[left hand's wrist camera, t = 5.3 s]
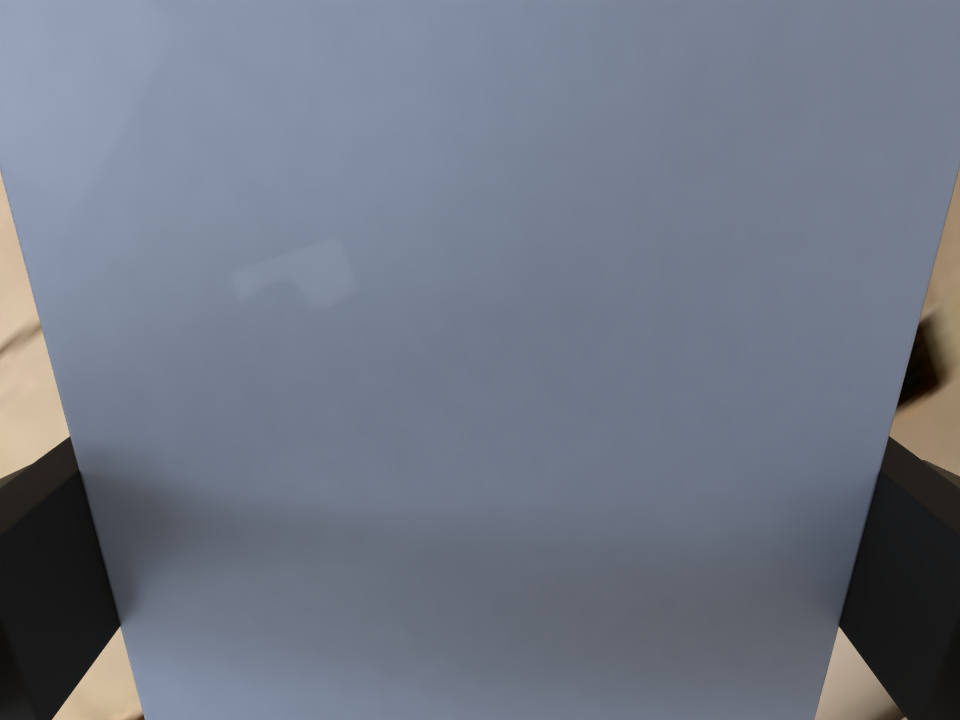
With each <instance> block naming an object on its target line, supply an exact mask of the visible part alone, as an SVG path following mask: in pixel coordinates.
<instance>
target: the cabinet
mask: <svg viewBox="0 0 960 720" xmlns="http://www.w3.org/2000/svg"><path fill="white" fill-rule="evenodd" d="M959 168H960V0H0V171H1V175H2V179H3V182H4V186H5V190H6V194H7V198H8V201H9V205H10V209H11V213H12V217H13V220H14V224H15V228H16V232H17V236H18V239H19V243H20V247H21V251H22V255H23V258H24V262H25V266H26V270H27V274H28V277H29V281H30V285H31V289H32V293H33V296H34V300H35V304H36V308H37V312H38V315H39V319H40V323H41V327H42V330H43V334H44V338H45V342H46V346H47V349H48V353H49V357H50V361H51V365H52V368H53V372H54V376H55V380H56V384H57V387H58V391H59V395H60V399H61V403H62V406H63V410H64V414H65V418H66V422H67V425H68V429H69V433H70V437H71V441H72V444H73V448H74V452H75V456H76V460H77V463H78V467H79V471H80V475H81V478H82V482H83V486H84V490H85V494H86V497H87V501H88V505H89V509H90V513H91V516H92V520H93V524H94V528H95V532H96V535H97V539H98V543H99V547H100V551H101V554H102V558H103V562H104V566H105V570H106V573H107V577H108V581H109V585H110V589H111V592H112V596H113V600H114V604H115V608H116V611H117V615H118V619H119V623H120V626H121V630H122V634H123V638H124V642H125V645H126V649H127V653H128V657H129V661H130V664H131V668H132V672H133V676H134V680H135V683H136V687H137V691H138V695H139V699H140V702H141V706H142V710H143V714H144V718H145V720H814V718H815V715H816V711H817V707H818V703H819V699H820V696H821V692H822V688H823V684H824V680H825V677H826V673H827V669H828V665H829V661H830V658H831V654H832V650H833V646H834V642H835V639H836V635H837V631H838V627H839V623H840V620H841V616H842V612H843V608H844V604H845V601H846V597H847V593H848V589H849V585H850V582H851V578H852V574H853V570H854V566H855V563H856V559H857V555H858V551H859V547H860V544H861V540H862V536H863V532H864V528H865V525H866V521H867V517H868V513H869V509H870V506H871V502H872V498H873V494H874V490H875V487H876V483H877V479H878V475H879V472H880V468H881V464H882V460H883V456H884V453H885V449H886V445H887V441H888V437H889V434H890V430H891V426H892V422H893V418H894V415H895V411H896V407H897V403H898V399H899V396H900V392H901V388H902V384H903V380H904V377H905V373H906V369H907V365H908V361H909V358H910V354H911V350H912V346H913V342H914V339H915V335H916V331H917V327H918V323H919V320H920V316H921V312H922V308H923V304H924V301H925V297H926V293H927V289H928V285H929V282H930V278H931V274H932V270H933V266H934V263H935V259H936V255H937V251H938V247H939V244H940V240H941V236H942V232H943V228H944V225H945V221H946V217H947V213H948V209H949V206H950V202H951V198H952V194H953V190H954V187H955V183H956V179H957V175H958V171H959Z"/></svg>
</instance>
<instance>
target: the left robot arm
mask: <svg viewBox="0 0 960 720" xmlns="http://www.w3.org/2000/svg"><path fill="white" fill-rule="evenodd" d="M119 627H120V623H119V619H118V615H117V611H116V608H115V604H114V600H113V596H112V592H111V589H110V585H109V581H108V577H107V573H106V570H105V566H104V562H103V558H102V554H101V551H100V547H99V543H98V539H97V535H96V532H95V528H94V524H93V520H92V516H91V513H90V509H89V505H88V501H87V497H86V494H85V490H84V486H83V482H82V478H81V475H80V471H79V467H78V463H77V460H76V456H75V452H74V448H73V444H72V441H71V437H68V438H67V439H66V440H64V441H63V442H62V443H60V444H59V445H58V446H56V447H55V448H53V449H52V450H51V451H49V452H48V453H47V454H45V455H44V456H43V457H41V458H40V459H39V460H37V461H36V462H34V463H33V464H31V465H29V466H27V467H25V468H22V469H20V470H18V471H16V472H14V473H12V474H10V475H7V476H5V477H3V478H1V479H0V720H52V719H53V717H54V716H55V715H56V713H57V712H58V711H59V709H60V708H61V706H62V705H63V704H64V702H65V701H66V700H67V698H68V697H69V695H70V694H71V693H72V691H73V690H74V689H75V687H76V686H77V685H78V683H79V682H80V680H81V679H82V678H83V676H84V675H85V674H86V672H87V671H88V669H89V668H90V667H91V665H92V664H93V663H94V661H95V660H96V659H97V657H98V656H99V654H100V653H101V652H102V650H103V649H104V648H105V646H106V645H107V643H108V642H109V641H110V639H111V638H112V637H113V635H114V634H115V632H116V631H117V630H118V628H119ZM839 627H840V628H841V629H842V631H843V632H844V633H845V635H846V636H847V638H848V639H849V640H850V642H851V643H852V644H853V646H854V647H855V648H856V650H857V651H858V653H859V654H860V655H861V657H862V658H863V659H864V661H865V662H866V664H867V665H868V666H869V668H870V669H871V670H872V672H873V673H874V675H875V676H876V677H877V679H878V680H879V681H880V683H881V684H882V685H883V687H884V688H885V690H886V691H887V692H888V694H889V695H890V696H891V698H892V699H893V701H894V702H895V703H896V705H897V706H898V707H899V709H900V710H901V712H902V713H903V714H904V716H905V717H906V718H907V720H960V476H957V475H955V474H953V473H951V472H949V471H947V470H945V469H942V468H940V467H938V466H936V465H934V464H932V463H929V462H927V461H925V460H921V459H919V458H918V457H917V456H915V455H914V454H913V453H911V452H910V451H909V450H907V449H906V448H904V447H903V446H902V445H900V444H899V443H898V442H896V441H895V440H894V439H892V438H891V437H890V436H889V437H888V441H887V445H886V449H885V453H884V456H883V460H882V464H881V468H880V472H879V475H878V479H877V483H876V487H875V490H874V494H873V498H872V502H871V506H870V509H869V513H868V517H867V521H866V525H865V528H864V532H863V536H862V540H861V544H860V547H859V551H858V555H857V559H856V563H855V566H854V570H853V574H852V578H851V582H850V585H849V589H848V593H847V597H846V601H845V604H844V608H843V612H842V616H841V620H840V623H839Z"/></svg>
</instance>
